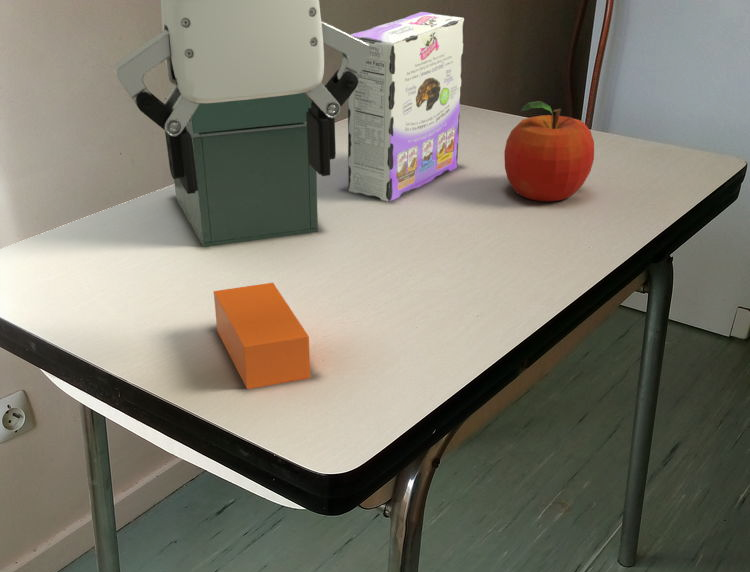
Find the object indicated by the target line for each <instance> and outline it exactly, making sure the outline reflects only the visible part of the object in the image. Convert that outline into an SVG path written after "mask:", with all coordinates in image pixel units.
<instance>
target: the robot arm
mask: <svg viewBox="0 0 750 572" xmlns="http://www.w3.org/2000/svg"><path fill="white" fill-rule="evenodd" d="M160 13H161V27H162V29H161V30H162V31H161V32H159V33H157V34H156V35H155V36H153V37H152V38H151V39H150V38H149V40H148V41H146V42H145V43H143V44H142V45H140V46H139V47H138V48H135V49H134V50H133V51H132V52H130V53H129V54H127V55H126V56H125V57H123V58H122V59H119V61H118V62H116V63H115V64H114V67H113V72H114V74H115V76H116V77H117V79H118V81H119V82H120V83H121V85H122V86H123V88H124V89H125V91H126V93H127V94H128V95H129V97H130V98H131V100H132V101H133V102H134V103H135V105H136V107H137V108H138V110H139V111H140V112H141V113H142V114H144V115H145V116H146V117H148V118H149V119H150V120H151V121H152V122H153V123H155V124H156V125H157V126H158V127H160V128H161V129H162V130H163V131H164V135H165V142H166V150H167V158H168V165H169V171H170V175H171V177H172V179H173V180H174V179H180V182H181V184H182V185H183V187H184V189H185V190H186V192H187V193H188V194H192V193H195V191H198V185H197V177H196V168H195V159H194V150H193V142H192V137H191V135H190V134H189V132H188V131H187V129H186V124H187V123H188V121H189V120H190V118H191V117H192V115H193V114H194V112H195V110H196V109H197V107H198V106H199V104H200V103H218V102H228V101H238V100H248V99H257V98H266V97H275V96H284V95H292V94H299V93H304V94H305V95H306V96H307V97H308V98H309V99H310V100H311V102H312V103H311V108H308V112H306V121H307V143H308V161H309V164H310V165H311V166H312V167H313V168H314V169H315V170H316V174H318V175H320V176H322V177H329V176H330V175H331V160H335V159H336V155H337V154H336V153H337V152H336V122H335V121H336V119H335V118H337V117H338V116H339V115H340V113H341V112H342V111H341V110H342V106H343V105H344V104H345V103H346V102H347V101H348V97H349V96H350V95H351V94H352V92H353V91H354V90H355V89H356V87H357V85H358V78H359V76H360V74H361V73H362V71H363V68H364V66H365V64H366V61H367V59H368V57H369V54H370V47H369V45H368V44H366V43H365V42H363V41H362V40H360V39H358V38H356V37H354V36H352V35H351V34H350V33H348V32H346V31H344V30H342V29H340V28H337V27H336V26H334V25H332V24H330V23H328V22H325V21H324V20H322V15H321V6H320V0H160ZM324 46H327V47H329V48H330V49H331V48H332V49H334V50H335V51H337V52H340V53H341V54H342V58H341V61H340V66H339V68H338V69H337V70H336V71H335V72H334V73H333V75H332V76H331V78H329V80H328V81H327V82H326V83H325V85H324V84H323V83H322V81H323V79H324V73H325V48H324ZM164 62H165V68H166V73H167V77H168V79H169V82H170V83H171V84H172V85H174V86H173V87H172V89H171V91H170V92H169V94H168V95H167V97H166V98H167V99H166V100H165V99H164V101H161V99H159V98H158V97H157V96H156V95H155V94H153V93H152V92H151V91H150V90H149V89H148V87H147V86H146V84H145V82H144V77H145V75H146V74H147V73H149V72H150V71H152V70H154V69H155V68H156V67H157V66H159V65H160V64H162V63H164Z"/></svg>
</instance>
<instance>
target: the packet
mask: <svg viewBox="0 0 750 572" xmlns="http://www.w3.org/2000/svg"><path fill="white" fill-rule="evenodd" d="M213 301H214V309H215V311H214V313H215V320H216V332H217V333H218V336H219V338H220V340H221V341H222V343H223V345H224V347H225V349H226V351H227V353H228V355H229V357H230V359H231V361H232V363H233V365H234V367H235V369H236V370H237V372H238V374H239V376H240V378H241V380H242V382H243V385H244V386H245V388H246V389H247V390H251V389H256V388H262V387H267V386H273V385H278V384H279V385H280V384H286V383H290V382H296V381H302V380H308V379H311V358H310V357H311V355H310V336H309V334H308V332H307V331H306V330H305V328H304V327H303V325H302V324H301V322H300V321H299V319H298V318H297V316H296V315H295V313H294V312H293V310H292V309H291V307H290V306H289V304H288V303H287V301H286V300H285V298H284V297H283V294H281V292H280V291H279V289H278V288H277V286H276V284H275V283H274V282H267V283H261V284H252V285H247V286H240V287H232V288H226V289H219V290H218V289H217V290H214V291H213Z"/></svg>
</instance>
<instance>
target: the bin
mask: <svg viewBox="0 0 750 572" xmlns="http://www.w3.org/2000/svg"><path fill="white" fill-rule="evenodd" d="M166 99H167V97H165V98H164V101H165V100H166ZM186 129H187V131H188V132H189V134H190V135H191V137H192V142H193V150H194V159H195V168H196V177H197V185H198V191H195V193H192V194H188V193H187V192H186V190H185V189H184V187H183V185H182V184H181V182H180V179H173V182H174V191H175V199H176V201H177V203H178V205H179V207H180V208H181V210H182V211H183V213H184V215H185V217H186V219H187V220H188V222H189V224H190V226H191V227H192V229H193V231H194V233H195V235H196V236H197V238H198V239H199V241H200V244H201V245H202V247H203V248H206V247H214V246H215V247H216V246H221V245H231V244H239V243H244V242H251V241H260V240H261V241H262V240H268V239H274V238H283V237H290V236H299V235H305V234H312V233H319V217H318V216H319V215H318V212H319V211H318V183H317V182H318V181H317V179H318V178H317V177H318V176H317V172H316V170H315V169H314V168H313V167H312V166H311V165H310V164H309V161H308V143H307V122H303V123H293V124H283V125H273V126H263V127H253V128H243V129H233V130H223V131H213V132H203V133H193V132H192V130H191V122H190V120H189V121H188V123H187V124H186Z"/></svg>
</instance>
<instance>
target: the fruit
mask: <svg viewBox="0 0 750 572" xmlns="http://www.w3.org/2000/svg"><path fill="white" fill-rule="evenodd" d="M531 109H544V110H545V111H546V110H547V111H549V112H550V113H551V114H546V115H545V114H544V115H537V116H531V117H527V118H524V119H521V121H519V122H518V124H517V125H516V126H515V127H514V128H513V129H512V130H510V133H509V135H508V137H507V139H506V142H505V147H504V152H503V153H504V154H503V155H504V157H503V158H504V170H505V174H506V177H507V180H508V182H509V183H510V186H511V187H512V189H513V190H514V191H515V193H517V194H518V195H520V196H521V197H523V198H525V199H527V200H531V201H536V202H542V203H552V202H553V203H554V202H559V201H563V200H565V199H568V198H570V197H572V196H574V194H575V193H576V192H578V191H579V189H581V187H582V186H583V185H584V183H585V182H586V180H587V178H588V177H589V175H590V173H591V170H592V167H593V165H594V161H595V141H594V137H593V135H592V131H591V130H590V129H589V127H588V125H586V123H585V122H583V120H580V119H578V118H577V119H576V118H573V117H570V116H566V115H561V111H562V108H556V109H553V110H552V108H551V105H549V104H547V103H546V102H543V101H540V100H536V101H530V102H527V103H526V104H524V105H523V106H522V108H521V110H520V111H519V112H520V113H522V112H526V111H528V110H531Z"/></svg>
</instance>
